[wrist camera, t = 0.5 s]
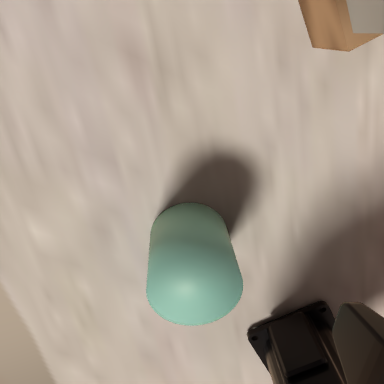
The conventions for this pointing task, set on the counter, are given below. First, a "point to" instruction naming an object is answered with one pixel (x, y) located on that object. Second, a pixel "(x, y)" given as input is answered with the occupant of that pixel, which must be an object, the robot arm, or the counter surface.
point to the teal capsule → (192, 266)
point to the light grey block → (366, 15)
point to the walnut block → (331, 25)
